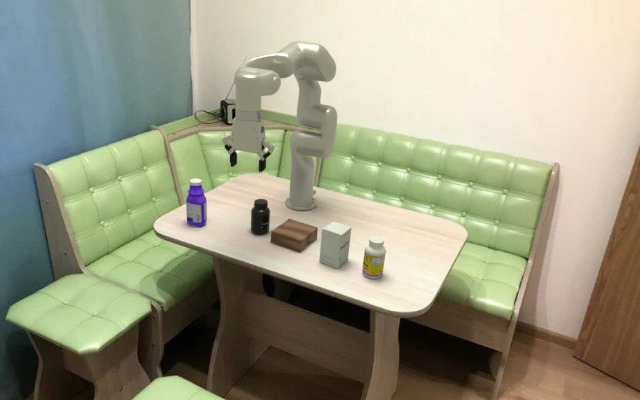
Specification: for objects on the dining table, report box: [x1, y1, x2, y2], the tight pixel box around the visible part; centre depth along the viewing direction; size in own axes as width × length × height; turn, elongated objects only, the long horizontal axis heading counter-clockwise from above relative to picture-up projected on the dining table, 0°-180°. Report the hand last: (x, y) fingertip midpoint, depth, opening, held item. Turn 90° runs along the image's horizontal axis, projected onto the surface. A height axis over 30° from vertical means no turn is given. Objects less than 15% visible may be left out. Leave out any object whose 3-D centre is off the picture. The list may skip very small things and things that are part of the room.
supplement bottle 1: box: [250, 198, 271, 236], centre depth 178 cm, size 7×7×12 cm
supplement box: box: [318, 221, 353, 269], centre depth 162 cm, size 7×7×13 cm
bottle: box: [185, 178, 208, 227], centre depth 179 cm, size 7×6×17 cm
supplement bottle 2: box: [361, 235, 387, 280], centre depth 156 cm, size 7×7×13 cm
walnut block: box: [270, 218, 318, 254], centre depth 174 cm, size 12×12×5 cm
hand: (247, 168), depth 155 cm, fingers open, 9 cm apart
